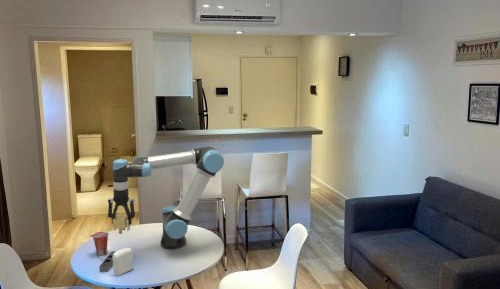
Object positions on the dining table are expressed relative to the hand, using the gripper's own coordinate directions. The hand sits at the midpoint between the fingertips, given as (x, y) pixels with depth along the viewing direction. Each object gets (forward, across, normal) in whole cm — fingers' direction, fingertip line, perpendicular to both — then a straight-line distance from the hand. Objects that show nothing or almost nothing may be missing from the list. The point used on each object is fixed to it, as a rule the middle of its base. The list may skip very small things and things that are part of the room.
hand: (121, 229), depth 220 cm
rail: (+18, +6, +4) cm, 19 cm away
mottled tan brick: (+1, 0, 0) cm, 1 cm away
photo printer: (+18, -5, +12) cm, 22 cm away
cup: (+18, +15, -7) cm, 25 cm away
